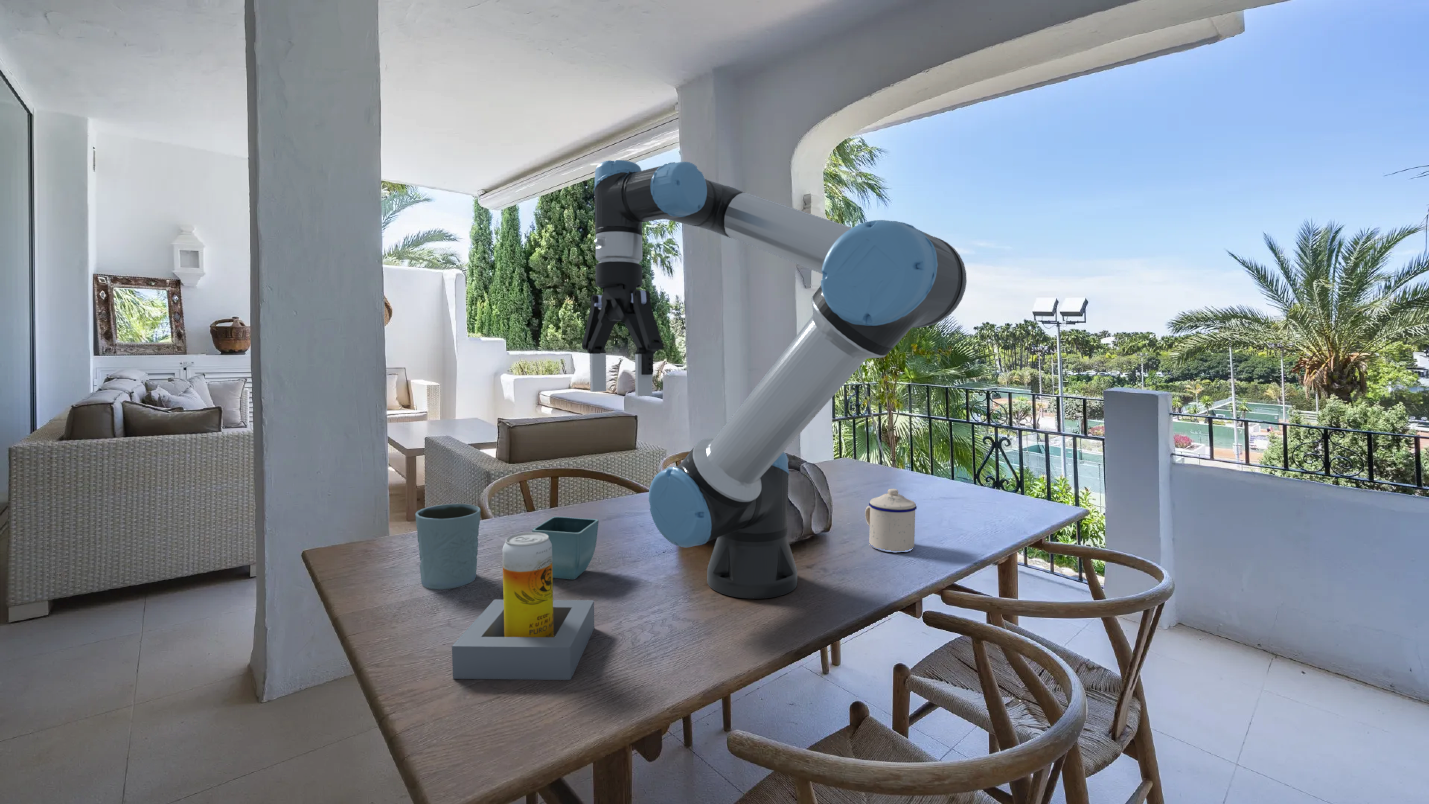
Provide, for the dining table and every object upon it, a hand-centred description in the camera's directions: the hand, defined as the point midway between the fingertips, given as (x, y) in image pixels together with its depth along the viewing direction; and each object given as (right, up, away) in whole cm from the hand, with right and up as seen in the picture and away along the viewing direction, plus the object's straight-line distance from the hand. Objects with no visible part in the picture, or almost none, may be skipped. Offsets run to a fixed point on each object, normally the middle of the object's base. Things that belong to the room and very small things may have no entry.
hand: (620, 393), depth 104 cm
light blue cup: (-29, -32, +3) cm, 43 cm away
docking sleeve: (-8, -34, -22) cm, 41 cm away
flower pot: (-10, -32, +6) cm, 34 cm away
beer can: (-8, -34, -22) cm, 41 cm away
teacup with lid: (+50, -30, +23) cm, 63 cm away
